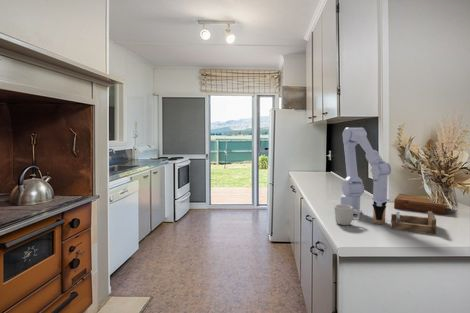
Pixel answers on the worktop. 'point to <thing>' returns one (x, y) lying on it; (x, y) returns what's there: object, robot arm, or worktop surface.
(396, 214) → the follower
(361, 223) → the worktop surface
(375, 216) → the jar
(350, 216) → the cup
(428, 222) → the brown wooden frame
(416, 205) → the brown wooden flat block
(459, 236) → the worktop surface
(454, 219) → the worktop surface
